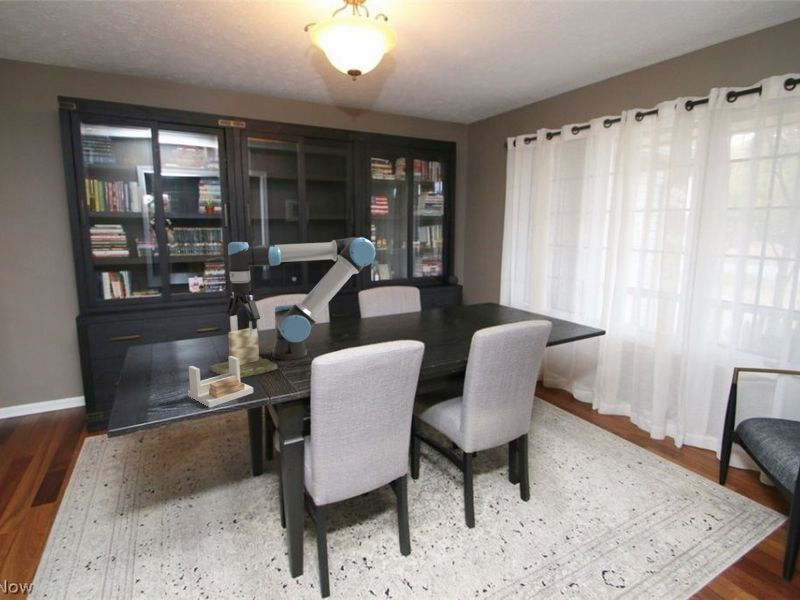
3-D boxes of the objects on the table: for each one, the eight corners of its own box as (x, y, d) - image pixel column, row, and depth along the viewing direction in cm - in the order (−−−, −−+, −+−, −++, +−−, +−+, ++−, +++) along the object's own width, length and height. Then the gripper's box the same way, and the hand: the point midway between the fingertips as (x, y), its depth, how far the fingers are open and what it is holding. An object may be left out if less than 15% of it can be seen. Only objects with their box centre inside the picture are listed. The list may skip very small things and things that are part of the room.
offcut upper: (232, 382, 146) (231, 376, 146) (238, 385, 143) (238, 379, 143) (210, 389, 140) (209, 383, 139) (216, 392, 137) (216, 386, 137)
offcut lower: (236, 386, 148) (236, 380, 148) (244, 389, 145) (244, 383, 145) (209, 394, 140) (208, 389, 140) (217, 398, 137) (216, 392, 137)
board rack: (231, 383, 156) (229, 355, 154) (253, 392, 147) (251, 362, 145) (188, 396, 143) (185, 365, 141) (209, 407, 135) (207, 375, 133)
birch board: (256, 359, 176) (255, 326, 173) (258, 360, 175) (258, 327, 172) (229, 366, 167) (228, 332, 164) (232, 367, 165) (231, 333, 163)
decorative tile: (210, 372, 170) (209, 364, 169) (255, 361, 185) (255, 353, 184) (232, 384, 158) (231, 375, 157) (279, 371, 172) (279, 362, 172)
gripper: (214, 280, 170) (218, 331, 173) (250, 285, 155) (253, 341, 158) (231, 278, 175) (235, 327, 179) (267, 283, 160) (270, 337, 164)
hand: (243, 334), depth 169 cm, fingers open, 13 cm apart
